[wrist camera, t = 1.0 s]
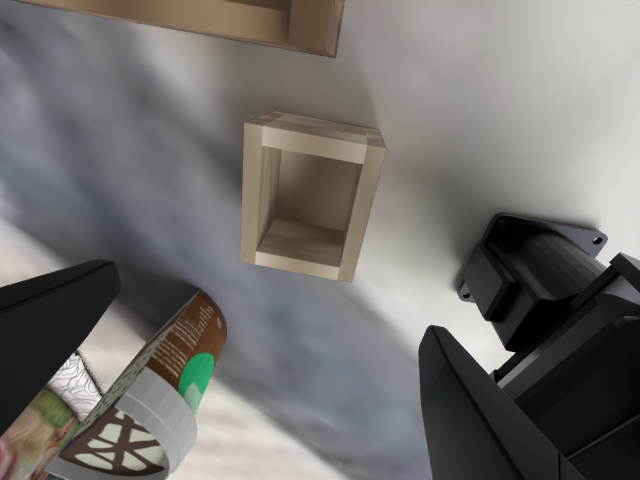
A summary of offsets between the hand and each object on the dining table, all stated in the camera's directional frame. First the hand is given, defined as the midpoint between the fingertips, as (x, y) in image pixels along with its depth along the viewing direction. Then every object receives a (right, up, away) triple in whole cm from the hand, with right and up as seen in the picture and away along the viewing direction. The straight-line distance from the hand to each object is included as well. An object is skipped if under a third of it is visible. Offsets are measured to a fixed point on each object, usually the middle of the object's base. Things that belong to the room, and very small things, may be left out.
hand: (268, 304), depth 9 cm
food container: (-9, -7, +18) cm, 21 cm away
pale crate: (+1, +6, +10) cm, 12 cm away
